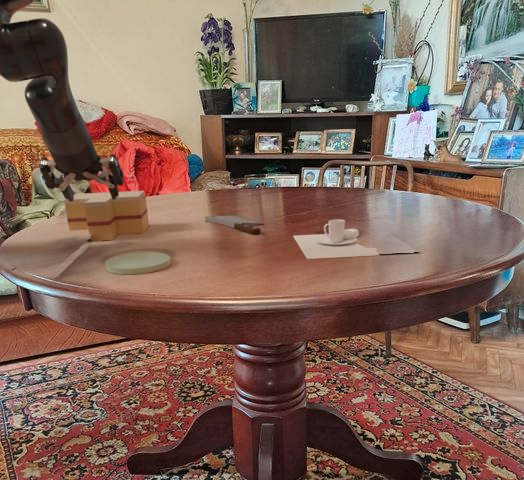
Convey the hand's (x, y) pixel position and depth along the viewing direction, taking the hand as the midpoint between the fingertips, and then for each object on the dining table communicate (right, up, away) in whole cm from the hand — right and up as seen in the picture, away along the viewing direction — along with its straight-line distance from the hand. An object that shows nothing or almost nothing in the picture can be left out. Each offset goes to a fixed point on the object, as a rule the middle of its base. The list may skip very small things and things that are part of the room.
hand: (93, 197), depth 103 cm
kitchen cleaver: (+29, -2, +16) cm, 33 cm away
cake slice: (0, -7, +8) cm, 10 cm away
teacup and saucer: (+51, -11, -6) cm, 53 cm away
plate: (+13, -16, -15) cm, 26 cm away
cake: (-1, -3, +15) cm, 15 cm away
